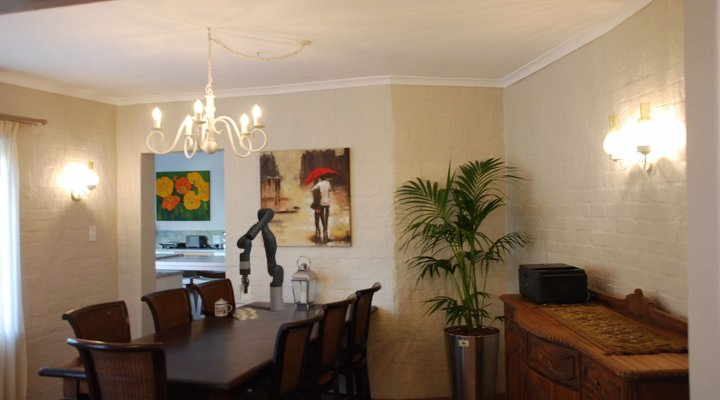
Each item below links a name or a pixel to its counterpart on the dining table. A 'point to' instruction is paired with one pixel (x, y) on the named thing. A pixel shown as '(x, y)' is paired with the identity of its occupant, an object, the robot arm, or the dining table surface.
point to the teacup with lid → (221, 308)
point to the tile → (245, 295)
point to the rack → (245, 314)
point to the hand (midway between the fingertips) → (245, 292)
